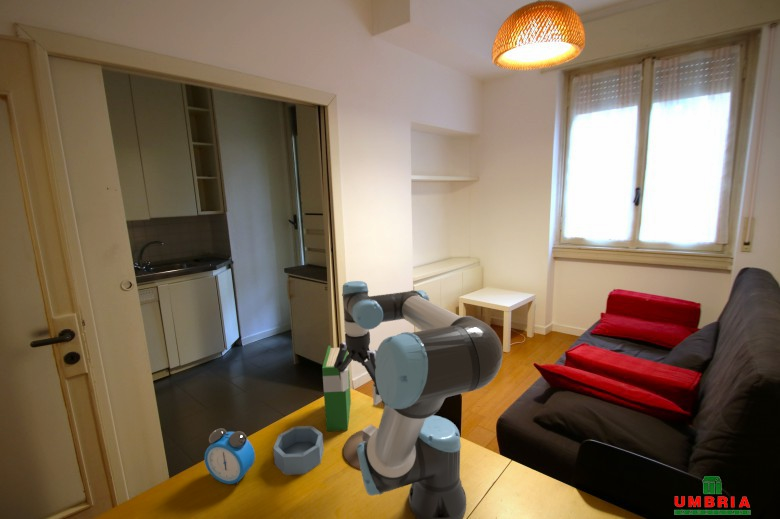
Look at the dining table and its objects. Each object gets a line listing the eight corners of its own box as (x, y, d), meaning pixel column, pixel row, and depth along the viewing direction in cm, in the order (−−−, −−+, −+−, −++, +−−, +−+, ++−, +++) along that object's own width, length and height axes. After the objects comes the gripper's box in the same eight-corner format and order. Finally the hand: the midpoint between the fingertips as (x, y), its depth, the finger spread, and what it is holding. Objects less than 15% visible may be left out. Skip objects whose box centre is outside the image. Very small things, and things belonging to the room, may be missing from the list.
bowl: (331, 456, 115) (330, 439, 114) (292, 482, 105) (290, 464, 104) (306, 436, 125) (305, 420, 124) (268, 458, 115) (266, 441, 114)
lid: (410, 448, 118) (410, 428, 117) (370, 480, 106) (369, 459, 104) (372, 424, 130) (372, 406, 129) (332, 451, 118) (331, 431, 116)
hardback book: (332, 402, 144) (328, 345, 140) (350, 401, 145) (347, 344, 140) (326, 431, 127) (322, 368, 122) (347, 430, 127) (344, 367, 123)
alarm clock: (206, 480, 107) (199, 435, 104) (221, 465, 112) (215, 422, 110) (245, 489, 103) (239, 442, 100) (258, 472, 109) (253, 428, 106)
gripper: (397, 336, 106) (399, 403, 109) (337, 320, 121) (341, 379, 125) (381, 345, 100) (384, 415, 104) (320, 327, 115) (324, 389, 119)
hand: (360, 396), depth 114 cm, fingers open, 13 cm apart
